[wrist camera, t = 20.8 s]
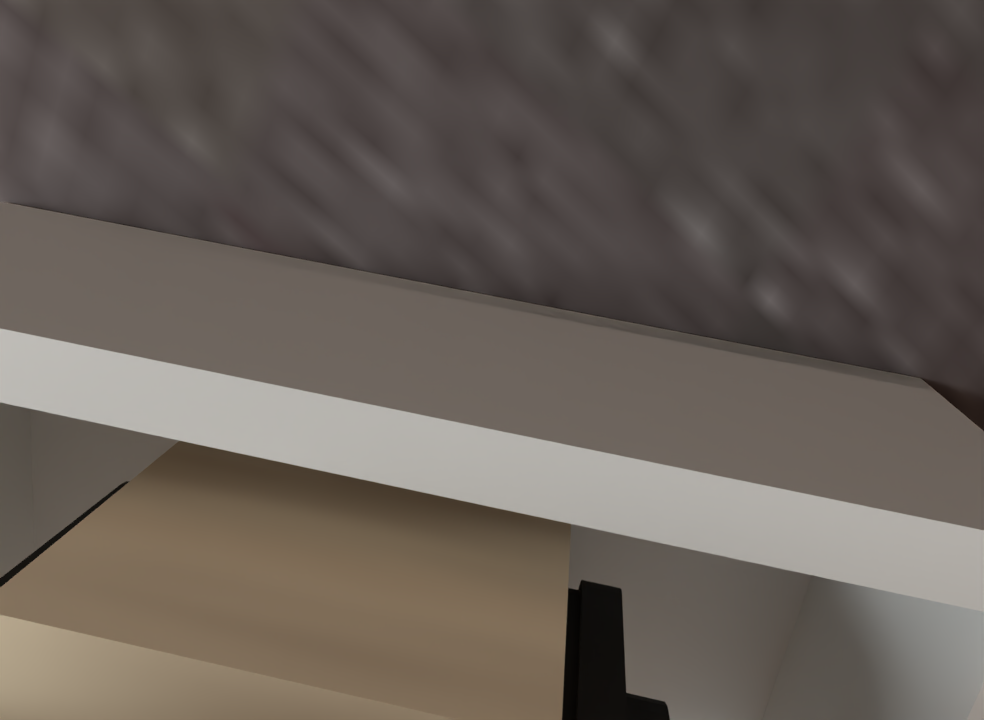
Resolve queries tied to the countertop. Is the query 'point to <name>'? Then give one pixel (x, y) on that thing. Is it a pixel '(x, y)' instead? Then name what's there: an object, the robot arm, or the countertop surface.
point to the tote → (528, 453)
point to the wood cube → (287, 603)
